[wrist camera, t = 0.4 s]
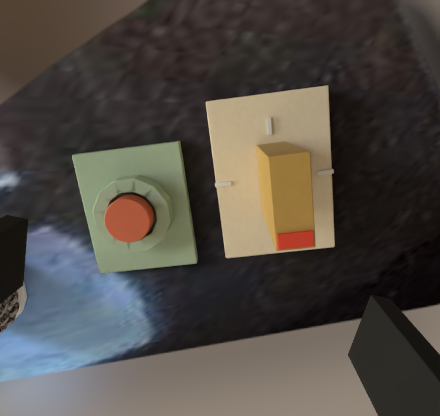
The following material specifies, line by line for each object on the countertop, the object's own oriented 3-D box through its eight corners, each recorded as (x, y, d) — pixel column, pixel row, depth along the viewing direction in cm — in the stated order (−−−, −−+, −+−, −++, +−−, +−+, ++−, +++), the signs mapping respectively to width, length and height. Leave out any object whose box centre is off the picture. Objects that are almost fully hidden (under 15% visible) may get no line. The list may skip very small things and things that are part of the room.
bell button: (106, 197, 30) (99, 201, 29) (150, 191, 30) (145, 196, 28) (115, 238, 31) (109, 245, 30) (157, 233, 31) (153, 240, 29)
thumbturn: (255, 144, 28) (267, 157, 19) (285, 141, 28) (311, 151, 19) (262, 212, 30) (276, 253, 21) (290, 209, 30) (317, 248, 21)
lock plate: (206, 103, 30) (204, 101, 27) (320, 88, 30) (330, 84, 27) (225, 246, 34) (224, 259, 31) (326, 235, 33) (336, 247, 30)
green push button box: (77, 153, 32) (61, 157, 29) (180, 140, 31) (175, 142, 28) (103, 268, 35) (92, 282, 32) (198, 258, 34) (195, 271, 31)
